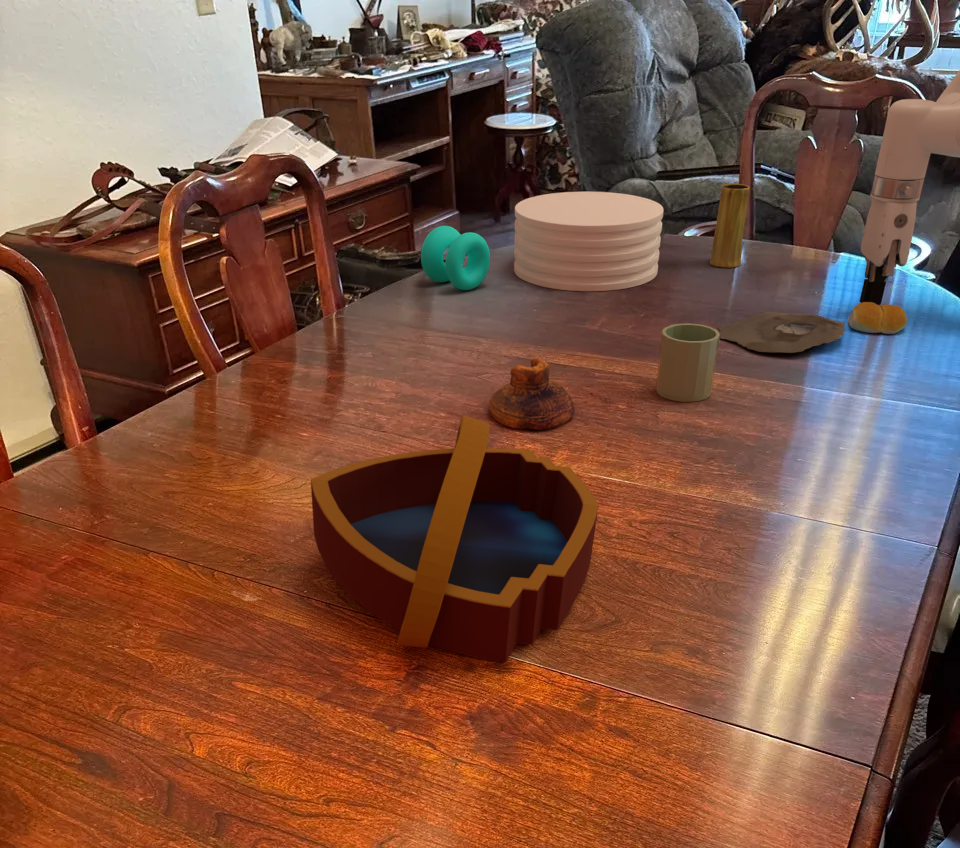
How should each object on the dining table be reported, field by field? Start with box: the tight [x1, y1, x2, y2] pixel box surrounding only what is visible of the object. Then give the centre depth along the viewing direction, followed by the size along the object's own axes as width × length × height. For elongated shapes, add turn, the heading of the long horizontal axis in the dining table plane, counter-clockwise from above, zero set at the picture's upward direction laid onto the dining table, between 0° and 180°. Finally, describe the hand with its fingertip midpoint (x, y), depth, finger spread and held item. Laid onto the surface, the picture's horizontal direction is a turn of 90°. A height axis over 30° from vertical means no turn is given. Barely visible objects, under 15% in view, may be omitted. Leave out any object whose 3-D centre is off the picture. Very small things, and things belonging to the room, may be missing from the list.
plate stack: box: [513, 191, 664, 292], centre depth 184 cm, size 28×28×12 cm
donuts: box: [420, 225, 491, 291], centre depth 177 cm, size 10×10×10 cm
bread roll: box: [847, 302, 908, 335], centre depth 157 cm, size 8×9×4 cm
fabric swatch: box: [716, 311, 846, 354], centre depth 155 cm, size 19×22×2 cm
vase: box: [709, 183, 751, 269], centre depth 185 cm, size 6×6×14 cm
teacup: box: [655, 323, 721, 403], centre depth 135 cm, size 8×8×8 cm
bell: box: [488, 357, 575, 431], centre depth 129 cm, size 12×12×7 cm
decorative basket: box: [310, 414, 599, 663], centre depth 95 cm, size 34×29×15 cm
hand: (869, 303), depth 164 cm, fingers closed
